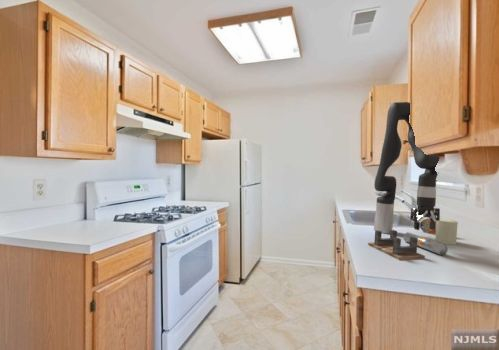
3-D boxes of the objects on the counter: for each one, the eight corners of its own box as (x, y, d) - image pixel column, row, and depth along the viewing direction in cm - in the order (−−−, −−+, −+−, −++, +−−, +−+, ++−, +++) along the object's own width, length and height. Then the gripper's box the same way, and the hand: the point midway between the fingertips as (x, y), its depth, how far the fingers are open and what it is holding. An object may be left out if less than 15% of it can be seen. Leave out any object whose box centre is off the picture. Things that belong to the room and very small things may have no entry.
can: (457, 245, 134) (459, 222, 133) (435, 242, 139) (437, 219, 138) (455, 241, 142) (456, 219, 141) (434, 238, 147) (435, 216, 146)
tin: (419, 231, 161) (420, 217, 161) (421, 230, 163) (422, 217, 162) (448, 237, 149) (449, 223, 148) (450, 237, 150) (451, 222, 150)
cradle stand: (367, 245, 131) (368, 229, 130) (390, 244, 133) (391, 228, 133) (398, 260, 111) (399, 241, 111) (424, 258, 114) (425, 240, 113)
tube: (402, 242, 137) (403, 232, 137) (411, 242, 138) (412, 232, 138) (437, 255, 118) (438, 244, 117) (447, 255, 119) (448, 244, 119)
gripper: (432, 195, 132) (430, 227, 132) (407, 194, 129) (405, 228, 129) (445, 197, 124) (443, 231, 125) (420, 196, 121) (418, 231, 122)
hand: (424, 229), depth 127 cm, fingers open, 8 cm apart
